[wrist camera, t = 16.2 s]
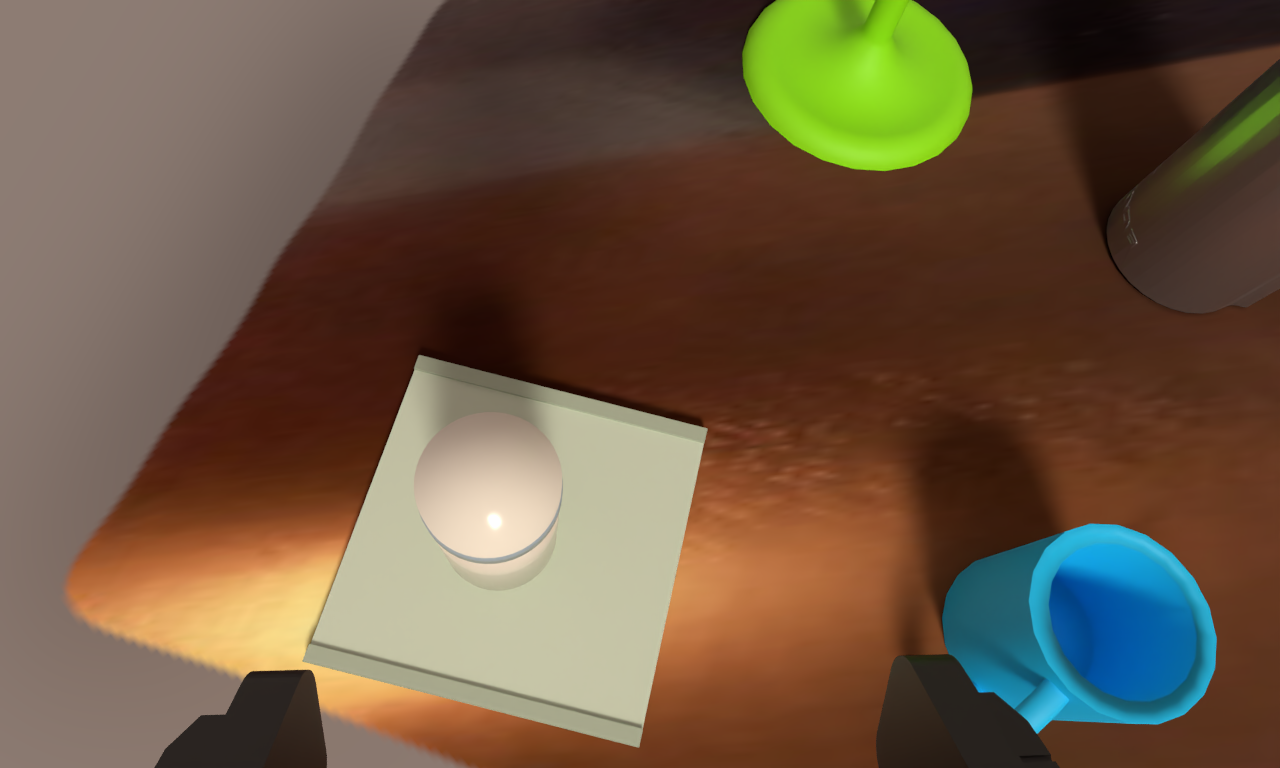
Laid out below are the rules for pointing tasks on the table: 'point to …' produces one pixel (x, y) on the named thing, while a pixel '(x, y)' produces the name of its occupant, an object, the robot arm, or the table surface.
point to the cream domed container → (491, 498)
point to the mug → (1084, 628)
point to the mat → (546, 605)
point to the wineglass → (858, 80)
